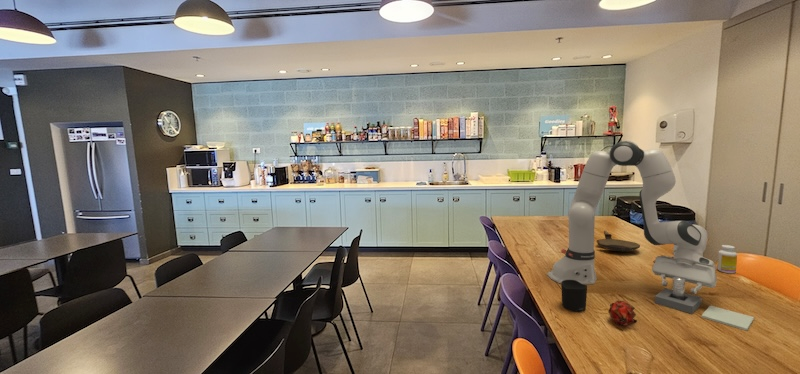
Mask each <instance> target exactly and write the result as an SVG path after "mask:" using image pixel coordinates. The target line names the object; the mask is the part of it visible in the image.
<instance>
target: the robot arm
mask: <svg viewBox="0 0 800 374" xmlns="http://www.w3.org/2000/svg"><path fill="white" fill-rule="evenodd" d="M617 165H618V166H620V167H621V166H622V167H627V166H629V167H630V166H632V167H633V166H635V167H636V168H637V170H638V172H639V174H640V177H641V181H642V188H641V190H640V191H639V203H640V208H641V214H642V215H641V216H642V221H643V236H644V238H645V240H646V241H647V242H648V243H650V244H651V245H654V246H664V245H674V244H676V245H678V248H677V249H676V252H675V254H673V256H667V255H661V254H660V255H657V256H656V257H655V260H654V261H655V263H654V262H653V266H652V268H651V271H652V273H653V274H654V275H655V276H660V277H661V280H662V281H661V286H664V287H665V288H666V287H668V281H667V280H666V279H667V278H668V279H672V280H673V277H675V276H678V277H682V278H685V283H691V284H694V285H696V286H695V287H691V288H690V293H691V294H693V295H697V292H698V291H700V290H701V289H703V287H706V288H711V289H713V288H715V287H716V285H717V280H718V279H717V274H716V273H717V272H716V271H717V269H716V268H717V267H716V265H715V262H714V261H713V260H711V259H709V258H706V257H704V252H705V251H706V248H707V245H708V237H709V236H708V231H707V230H706V229H705V228H704V227H702V226H701V225H699V224H695V223H694V224H692V223H691V222H689V221H687V220H675V221H674V220H672V221H664V222H662V221H661V222H660V220H659V218H658V213H657V208H656V207H657V206H656V204H657V201H658V200H659V199H660V198H661V197H663V196H664V195H667V194H668V193H669V192H671V191H672V190H673V189H674V188H675V186H676V182H677V181H676V176H675V173H674V171H673V168H672V165H671V163H670V162H669V159H668V158H667V156H666V154H665V153H664V151H662V150H660V149H657V148H651V149H646V150H643V149H642V148H641V147H639V145H638V144H637V143H635V142H633V141H631V140H622V141H619V142H616V143H615V144H614V145H612V147H611V148H610V150H608V151H604V150H596V151H594V152H592V153H591V154H590V155H589V157H588V159H587V161H586V163H585V165H584V167H583V170H582V172H581V175H580V179H579V181H578V184H577V187H576V190H575V192H574V196H573V197H572V198H573V199H572V202H571V203H570V205H569V206H570V207H569V209H568V216H567V217H568V248H567V250H566V249H565V248H562V249H561V250H560V252H561V253H562V254H564V256H563V257H561V258H560V259H558V260H557V261H555V262H554V263H553V264H552V265H553V266H552V270H551V271H547V277H548V278H549V279H551V280H552V281H553V282H556V283H559V284H561V282H562V281H564V280H576V281H578V282H580V283H581V284H583V285H595V282H596V281H597V279H598V278H597V274H596V269H595V258H596V252H595V224H596V223H595V221H596V220H595V219H596V217H595V216H596V210H597V208H598V205H599V202H600V200H601V197H602V196H603V193H604V190H605V188H606V185H607V183H608V180H609V177H610V174H611V172H612V170H613V169H614V167H615V166H617Z"/></svg>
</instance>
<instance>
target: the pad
mask: <svg viewBox="0 0 800 374" xmlns="http://www.w3.org/2000/svg"><path fill="white" fill-rule="evenodd" d="M701 318H702V319H706V320H710V321H712V322H716V323H719V324H723V325H726V326H729V327H733V328H737V329H740V330H743V331H748V330H749V328H750V327H751V325H752V322H753V321H754V319H755V317H754V316H751V315H748V314H744V313H740V312H737V311H733V310H728V309H725V308H722V307H718V306H714V305H709V306H708V308H707V309H705V311H704V312H703V313H702V314H701Z"/></svg>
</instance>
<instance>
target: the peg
mask: <svg viewBox="0 0 800 374" xmlns="http://www.w3.org/2000/svg"><path fill="white" fill-rule="evenodd" d="M685 286H686V282H685V278H682V277H678V276H675V277H673V279H672V290H673V295H672V298H675V299H679V300H683V301H684V293H685Z"/></svg>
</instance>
